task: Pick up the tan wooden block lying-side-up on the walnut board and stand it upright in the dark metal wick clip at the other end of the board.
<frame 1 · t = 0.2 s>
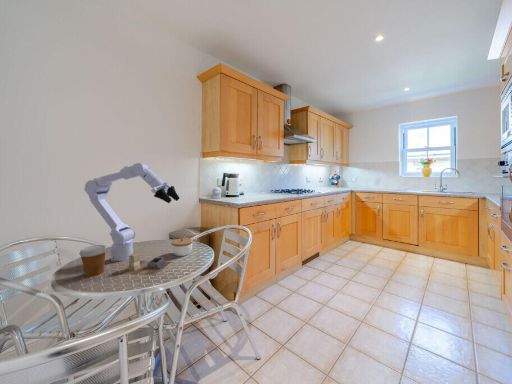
hand: (174, 200, 106), 31 cm above the table, tool tilted 45°, fingers open, 7 cm apart
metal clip: (156, 267, 102), resting on walnut board
walnut board: (145, 268, 100), on the table
disposable coffee cup: (95, 275, 94), on the table
tan wooden block: (134, 268, 98), point 1 cm above the table, touching walnut board
lidded jar: (182, 255, 117), on the table
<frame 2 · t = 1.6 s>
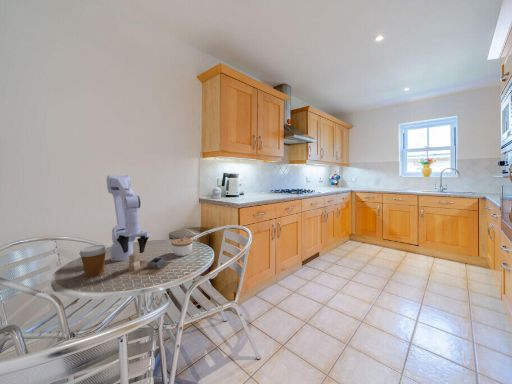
hand: (133, 252, 97), 9 cm above the table, tool pointing down, fingers open, 7 cm apart
nothing on the table moved.
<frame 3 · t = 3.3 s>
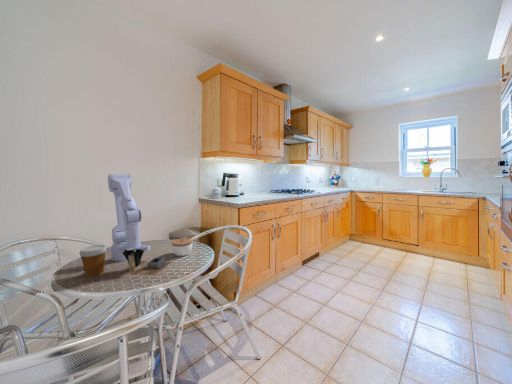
hand: (134, 265, 98), 2 cm above the table, tool pointing down, fingers closed on tan wooden block, 2 cm apart
tan wooden block: (134, 268, 98), point 1 cm above the table, touching gripper, walnut board
everything else where it was.
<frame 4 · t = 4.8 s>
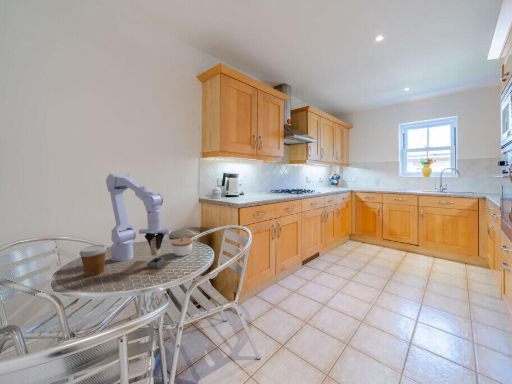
hand: (155, 248, 101), 9 cm above the table, tool pointing down, fingers closed on tan wooden block, 2 cm apart
tan wooden block: (156, 253, 101), point 6 cm above the table, touching gripper
everything else where it was.
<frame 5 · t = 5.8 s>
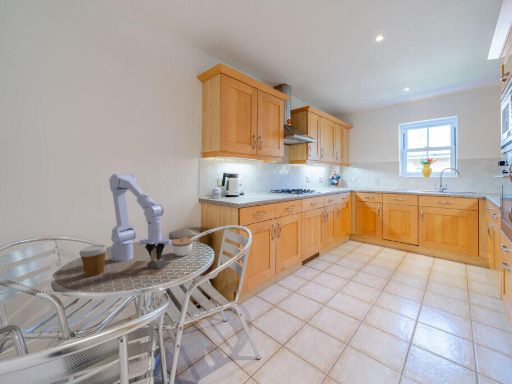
hand: (156, 259, 101), 4 cm above the table, tool pointing down, fingers closed on tan wooden block, 2 cm apart
tan wooden block: (156, 264, 102), point 1 cm above the table, touching gripper, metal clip
everything else where it was.
when the fingers open (4 cm above the table, at t = 6.3 s): tan wooden block stays where it is, resting on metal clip.
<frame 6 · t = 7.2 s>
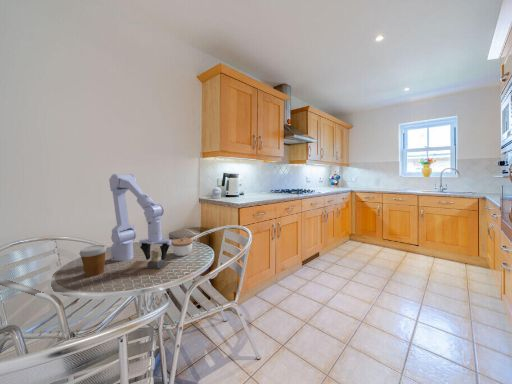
hand: (156, 259, 101), 4 cm above the table, tool pointing down, fingers open, 7 cm apart
tan wooden block: (156, 264, 102), point 1 cm above the table, touching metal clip
everything else where it was.
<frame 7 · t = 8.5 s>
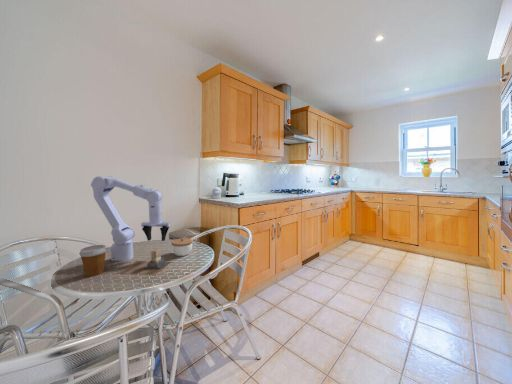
hand: (156, 240, 111), 10 cm above the table, tool pointing down, fingers open, 7 cm apart
nothing on the table moved.
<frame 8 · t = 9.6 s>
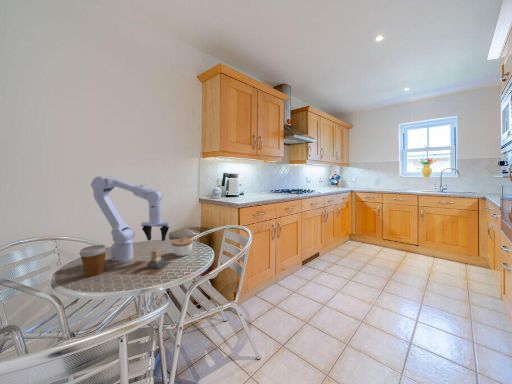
hand: (156, 240, 111), 10 cm above the table, tool pointing down, fingers open, 7 cm apart
nothing on the table moved.
at the end: tan wooden block 0.1 cm off-centre on the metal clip, point 1.4 cm above the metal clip's base; tan wooden block tilted 0°; the gripper is holding nothing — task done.
